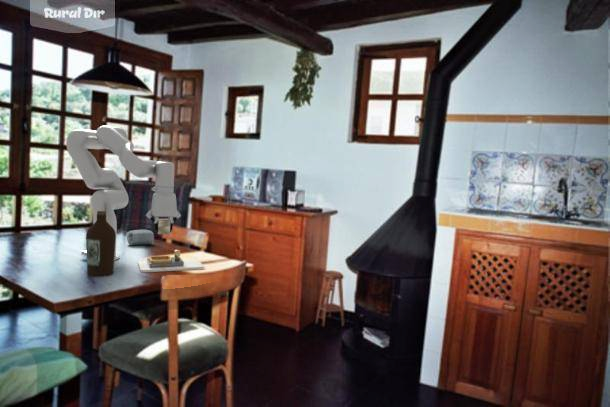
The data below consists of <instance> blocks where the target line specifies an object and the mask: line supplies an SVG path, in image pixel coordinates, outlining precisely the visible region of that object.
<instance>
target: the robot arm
mask: <svg viewBox="0 0 610 407" xmlns="http://www.w3.org/2000/svg"><path fill="white" fill-rule="evenodd" d="M65 144H66V150H67V152H68V155H69V156H70V158H71V159H72V161H73V162H74V164H75V165H76V168H77V170H78V172H79V174H80V176H81V178H82V180H83V182H84V183H85V186H86V187H87V188H89V189H91V190H96V191H95V192H93V194H92V196H91V198H90V203H91V207H92V208H91V209H92V219H93V220H92V222H93V223H92V225H93V224H94V223H95V222H96V221H97V211H106V221H107V222H108V223H109V224H110V225H111V226H112V227H113V229H114V230H115V233H116V234H117V216H116V214H115V211H114V210H119V209H124V208H125V207H126V206H127V205H128V204H129V195H128V191H127V190H126V188H125V186H124V184H123V182H122V180H121V179H120V176H119V175H118V174H117V172H116V171H115V170H113V169H111V168H106V167H105V168H104V167H101V166H100V165H99V163H98V161H97V159H96V158H95V156H94V155H93V153H91V152H90V151H89V150H92V149H93V150H105V149H108V150H109V151H111V152H112V153H113V154H114V155H116V156H117V157H118V161H119V162H120V164H121V166H122V167H123V168H124V169H125V170H127V171H128V172H129V173H131V175H133V176H135V177H137V178H141V179H142V178H143V179H144V178H147V179H149V178H151V179H152V178H154V179H155V186H154V187H151V191H154V193H153V195H152V201H151V208H150V210H149V211H148V212H147V213H146V214H145V216H146V217H147V218H148V219H149V220H151V221H152V222H153V230H154V231H155V233H156V234H158V219H160V218H168V219H170V233H172V231H173V226H174V223H175V222H176V221H177V220H178V219H179V218H181V217H182V215H181V213H180V212H179V210H178V209H177V208H178V207H177V206H178V205H177V197H176V193H174V191H175V189H174V187H175V186H174V184H175V164H174V162H172V161H171V162H170V161H158V160H153V159H152V160H150V159H141V158H140V157H138V156H137V155H136V154H135V153H134V152H133V151H134V149H135V146H134V143H133V142H132V141H131V140H130V139H128V133H127V131H126V130H125V129H124V128H121V127H119V126H112V125H101V126H100V127H97V129H96V130H92V129H86V128H85V129H84V128H82V129H81V128H80V129H79V128H78V129H74V130H72V131H70V132H69V134H68V135H67V137H66V143H65ZM81 255H84V256H87V249H86V250H84V249H83V250H81ZM119 259H120V255H119V254H117V240H116V241H115V254H114V261H116V260H119Z"/></svg>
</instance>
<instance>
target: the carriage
mask: <svg viewBox="0 0 610 407" xmlns="http://www.w3.org/2000/svg"><path fill="white" fill-rule="evenodd" d="M173 251H174V254H173V256H174V257H173V256H170V255H155V256H154V255H153V256H150V255H149V256H148V258H146V261H147V263H148V265H149V267H163V266H182V265H184V262H183V260H182V259H183V258H181V250H180V249H175V250H173Z"/></svg>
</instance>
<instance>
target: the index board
mask: <svg viewBox="0 0 610 407" xmlns="http://www.w3.org/2000/svg"><path fill="white" fill-rule="evenodd" d="M181 259H182V260H183V262H184V265H182V266H163V267H149V265H148V263H147V260H137V263H136V264H137V266H138V268H139V271H140V273H155V272H158V273H159V272H173V271H176V272H177V271H190V270H193V269H195V270H200V269H199V268H204V269H205V265H203V263H202V262H201V261H200V260H199V259H197V258H181Z"/></svg>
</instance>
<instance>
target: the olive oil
mask: <svg viewBox="0 0 610 407" xmlns="http://www.w3.org/2000/svg"><path fill="white" fill-rule="evenodd" d="M85 241H86V242H85V243H86V251H87V255H86V264H87V265H86V266H87V267H86V268H87V269H86V270H87V273H86V274H87V275H88V276H90V277H107V276H111V275H113V273H114V272H115V271H114V270H115V260H114V254H115V241H116V242H117V232H116V233H115V230H114V229H113V227H112V226H111V225H110V224H109V223H108V222H107V221H106V211H97V221H96V222H95V223H94V224H93V223H92V225H91V226H89V228H88V229H87V231H86V235H85Z"/></svg>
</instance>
